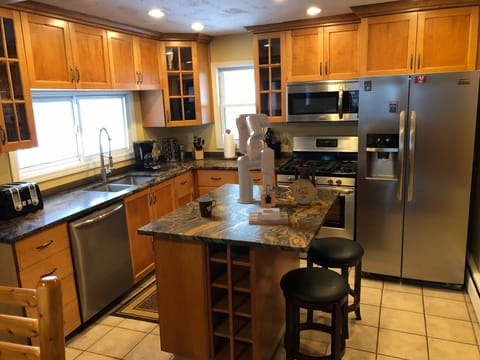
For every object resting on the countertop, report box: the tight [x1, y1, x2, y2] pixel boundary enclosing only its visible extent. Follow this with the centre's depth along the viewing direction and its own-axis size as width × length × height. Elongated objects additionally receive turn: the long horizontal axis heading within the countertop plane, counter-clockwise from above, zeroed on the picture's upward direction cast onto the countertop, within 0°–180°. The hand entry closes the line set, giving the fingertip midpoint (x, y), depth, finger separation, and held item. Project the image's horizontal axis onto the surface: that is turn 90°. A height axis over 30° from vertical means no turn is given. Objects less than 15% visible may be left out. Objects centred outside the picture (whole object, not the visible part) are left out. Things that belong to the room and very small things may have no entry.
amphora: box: [290, 158, 319, 208], centre depth 250 cm, size 18×17×30 cm
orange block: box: [260, 191, 276, 209], centre depth 222 cm, size 7×8×9 cm
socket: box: [256, 207, 280, 220], centre depth 224 cm, size 13×13×4 cm
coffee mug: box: [197, 197, 217, 218], centre depth 235 cm, size 12×9×10 cm
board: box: [248, 211, 289, 225], centre depth 224 cm, size 16×22×2 cm
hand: (268, 201), depth 222 cm, fingers closed on orange block, 6 cm apart
